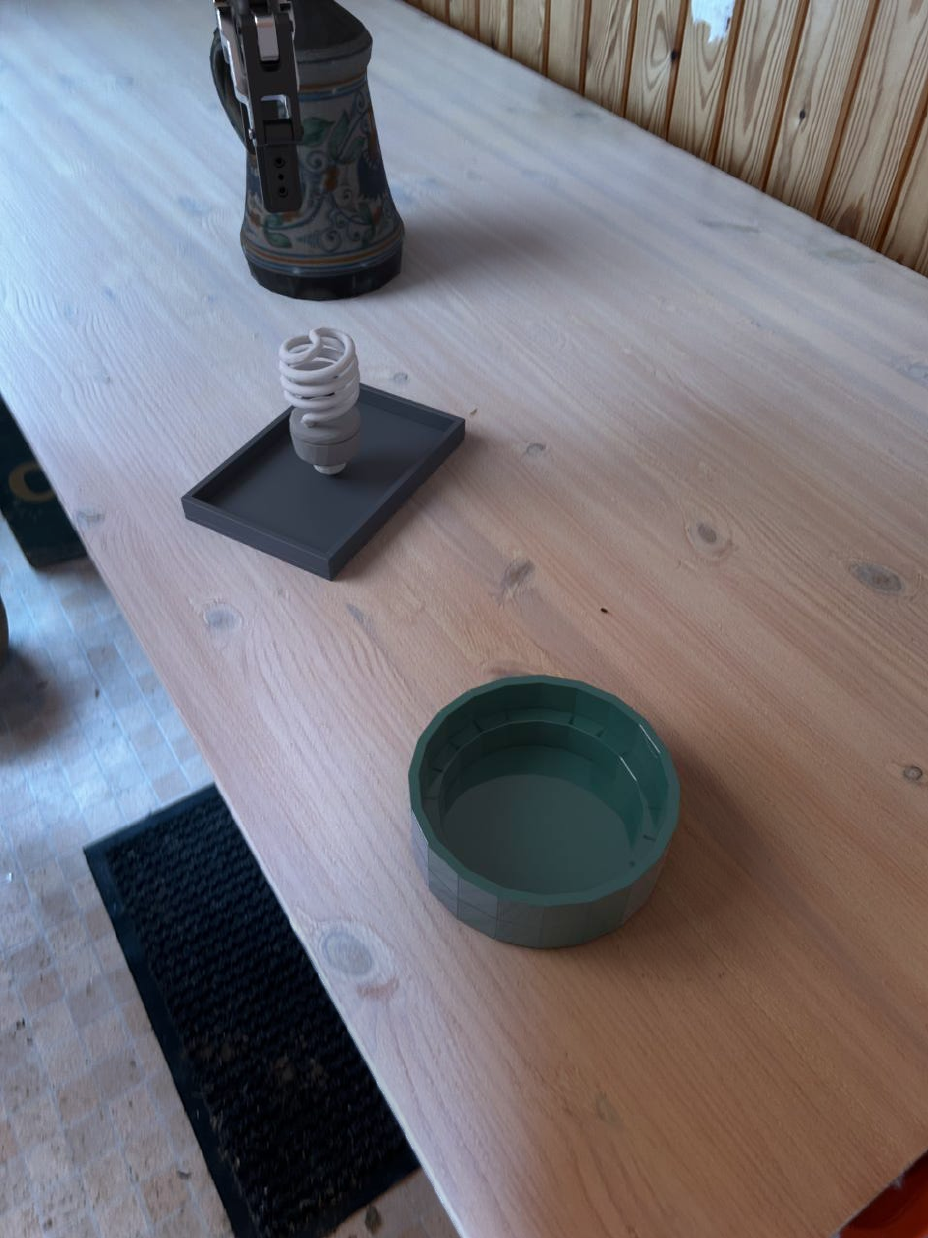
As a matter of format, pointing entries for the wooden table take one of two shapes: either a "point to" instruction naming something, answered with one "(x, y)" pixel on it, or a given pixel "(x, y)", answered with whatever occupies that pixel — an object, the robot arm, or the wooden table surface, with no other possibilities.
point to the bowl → (541, 809)
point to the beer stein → (323, 169)
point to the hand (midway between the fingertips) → (273, 179)
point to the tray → (325, 484)
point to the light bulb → (322, 397)
